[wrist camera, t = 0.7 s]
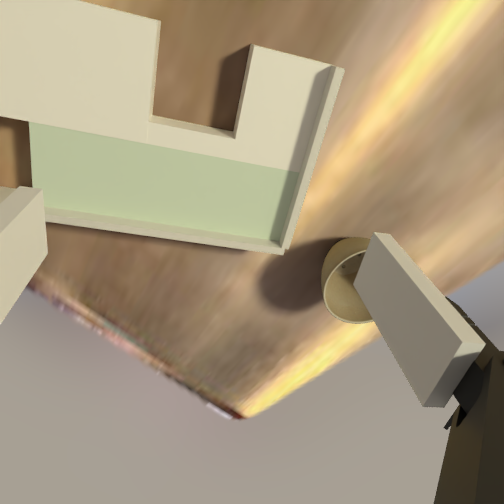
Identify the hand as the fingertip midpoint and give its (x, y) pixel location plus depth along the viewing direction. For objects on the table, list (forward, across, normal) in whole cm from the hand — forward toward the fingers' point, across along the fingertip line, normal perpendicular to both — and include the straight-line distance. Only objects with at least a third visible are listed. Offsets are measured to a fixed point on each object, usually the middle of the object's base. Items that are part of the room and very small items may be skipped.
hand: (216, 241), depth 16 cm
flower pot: (+26, +19, -14) cm, 35 cm away
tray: (+26, -10, -2) cm, 28 cm away
